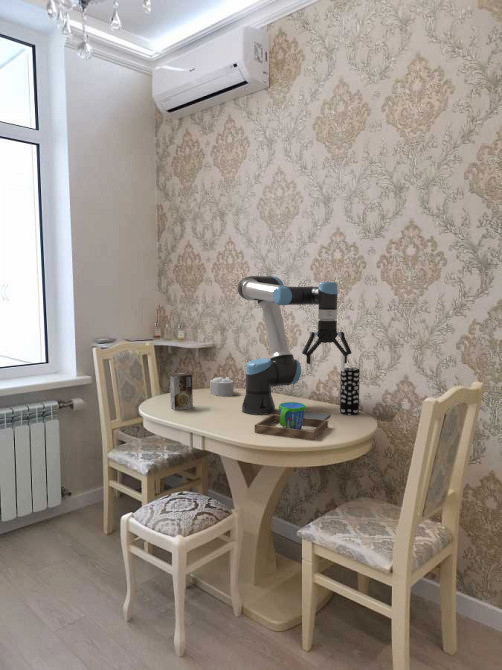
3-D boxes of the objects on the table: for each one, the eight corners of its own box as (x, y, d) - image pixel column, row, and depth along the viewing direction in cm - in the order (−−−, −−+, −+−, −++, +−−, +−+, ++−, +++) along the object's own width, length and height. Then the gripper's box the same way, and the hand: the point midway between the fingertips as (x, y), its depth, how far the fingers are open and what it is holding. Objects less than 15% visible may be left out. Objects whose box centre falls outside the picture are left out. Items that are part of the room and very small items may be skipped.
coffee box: (188, 405, 248) (188, 372, 246) (193, 408, 242) (192, 374, 240) (170, 407, 244) (169, 373, 242) (174, 410, 238) (173, 375, 236)
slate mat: (286, 420, 221) (286, 418, 220) (297, 412, 234) (297, 411, 234) (320, 423, 214) (320, 422, 214) (330, 415, 228) (330, 414, 228)
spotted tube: (358, 415, 228) (359, 370, 226) (339, 414, 230) (340, 370, 228) (358, 411, 236) (359, 368, 234) (340, 410, 238) (341, 367, 236)
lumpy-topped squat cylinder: (222, 391, 282) (222, 375, 282) (238, 394, 273) (238, 378, 272) (207, 393, 275) (207, 377, 275) (223, 397, 266) (223, 380, 265)
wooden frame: (254, 432, 202) (254, 425, 201) (272, 421, 219) (272, 414, 218) (313, 440, 192) (313, 432, 191) (327, 427, 209) (328, 420, 209)
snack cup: (291, 436, 196) (291, 410, 195) (269, 431, 203) (269, 406, 202) (314, 428, 208) (314, 403, 207) (292, 423, 215) (292, 399, 214)
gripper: (299, 320, 205) (298, 373, 207) (360, 320, 209) (358, 372, 211) (295, 319, 213) (294, 370, 215) (354, 319, 216) (352, 369, 218)
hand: (326, 371), depth 213 cm, fingers open, 13 cm apart
